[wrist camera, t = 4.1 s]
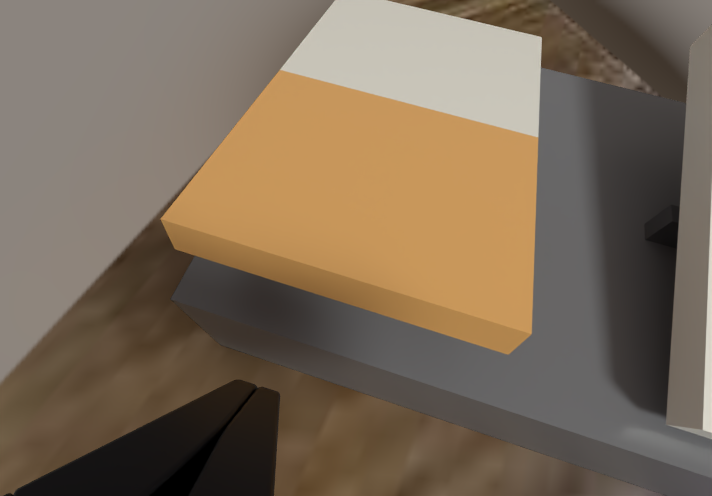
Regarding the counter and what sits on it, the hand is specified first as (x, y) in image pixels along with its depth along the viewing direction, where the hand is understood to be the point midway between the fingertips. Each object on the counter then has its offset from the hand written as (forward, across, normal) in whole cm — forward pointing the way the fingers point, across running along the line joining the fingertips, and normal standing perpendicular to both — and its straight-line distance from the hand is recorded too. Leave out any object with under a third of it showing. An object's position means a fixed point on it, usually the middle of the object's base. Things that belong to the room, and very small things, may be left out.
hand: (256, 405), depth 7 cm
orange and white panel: (+10, -1, -6) cm, 12 cm away
